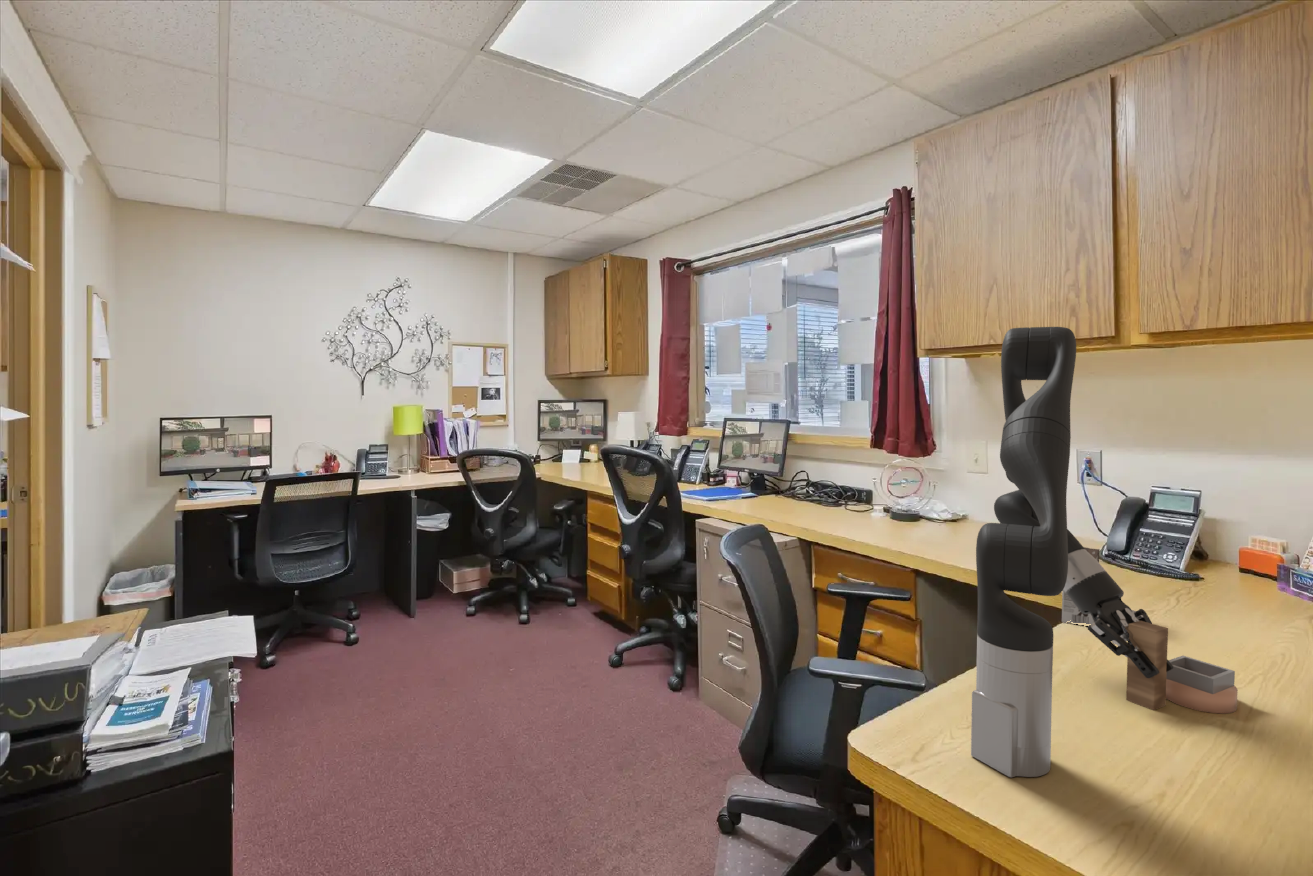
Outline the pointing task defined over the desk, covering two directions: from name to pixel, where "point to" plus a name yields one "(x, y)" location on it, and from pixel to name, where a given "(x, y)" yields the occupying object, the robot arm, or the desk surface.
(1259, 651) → the desk surface
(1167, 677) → the dish
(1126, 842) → the desk surface
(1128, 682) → the brown wooden block
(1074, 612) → the coffee box
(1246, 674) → the desk surface
